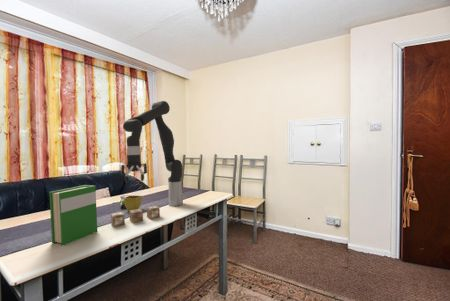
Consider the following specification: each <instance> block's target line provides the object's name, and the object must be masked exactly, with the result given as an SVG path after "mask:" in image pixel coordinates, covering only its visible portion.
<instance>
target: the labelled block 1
mask: <svg viewBox="0 0 450 301" xmlns="http://www.w3.org/2000/svg"><path fill="white" fill-rule="evenodd" d="M125 219H126V218H125V213H124V212H123V211H119V212H113V213H110V224H111V226H112V228H115V227H122V226H125V225H126V222H125V221H126V220H125Z"/></svg>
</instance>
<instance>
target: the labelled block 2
mask: <svg viewBox="0 0 450 301" xmlns="http://www.w3.org/2000/svg"><path fill="white" fill-rule="evenodd" d="M160 211H161V210H160V207H159V206H157V205H152V206H147V207H146V217H147V218H148V220H154V219H159V218H161V212H160Z"/></svg>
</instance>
